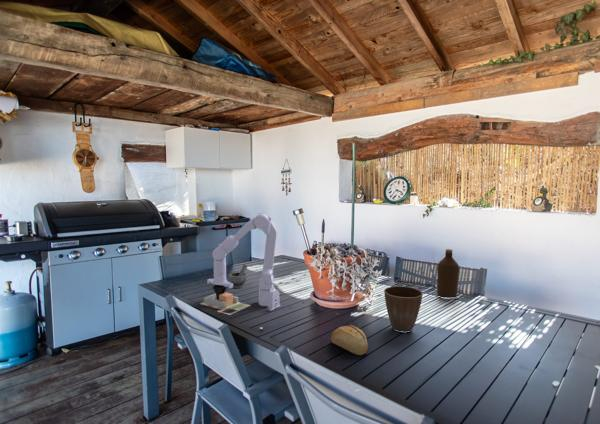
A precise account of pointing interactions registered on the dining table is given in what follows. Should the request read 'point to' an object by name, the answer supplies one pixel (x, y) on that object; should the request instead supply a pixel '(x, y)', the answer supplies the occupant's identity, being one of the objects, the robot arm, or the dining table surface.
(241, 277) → the mortar and pestle
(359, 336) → the bread roll
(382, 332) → the dining table surface
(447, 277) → the olive oil
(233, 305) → the birch deck
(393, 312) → the plant pot
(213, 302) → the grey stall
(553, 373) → the dining table surface
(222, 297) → the terracotta block
